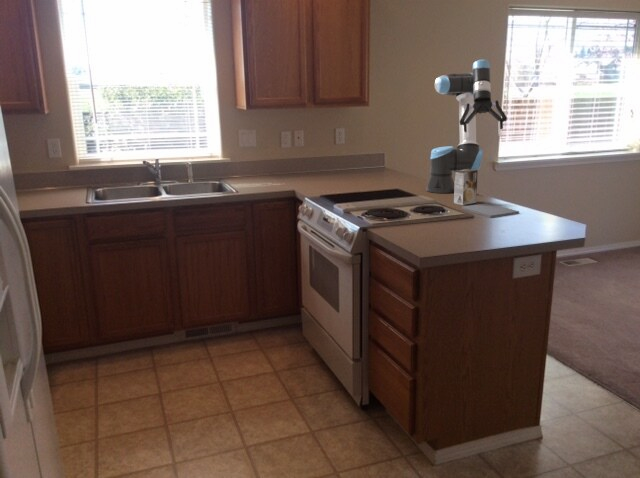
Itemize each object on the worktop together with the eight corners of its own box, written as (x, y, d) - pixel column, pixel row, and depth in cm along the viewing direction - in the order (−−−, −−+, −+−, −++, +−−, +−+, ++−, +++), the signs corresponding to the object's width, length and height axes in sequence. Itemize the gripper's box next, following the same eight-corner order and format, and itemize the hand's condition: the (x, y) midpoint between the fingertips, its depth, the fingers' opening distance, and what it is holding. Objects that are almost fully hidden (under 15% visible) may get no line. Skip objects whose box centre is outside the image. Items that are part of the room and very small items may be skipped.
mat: (461, 208, 261) (461, 206, 261) (488, 204, 268) (488, 202, 267) (490, 217, 244) (490, 215, 244) (518, 213, 250) (519, 211, 250)
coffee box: (467, 200, 278) (468, 168, 273) (476, 203, 272) (478, 170, 268) (453, 203, 273) (454, 170, 269) (462, 205, 268) (464, 172, 264)
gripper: (453, 92, 254) (454, 136, 250) (511, 86, 247) (513, 131, 243) (454, 99, 261) (455, 142, 257) (510, 94, 254) (512, 138, 250)
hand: (483, 137), depth 250 cm, fingers open, 13 cm apart
